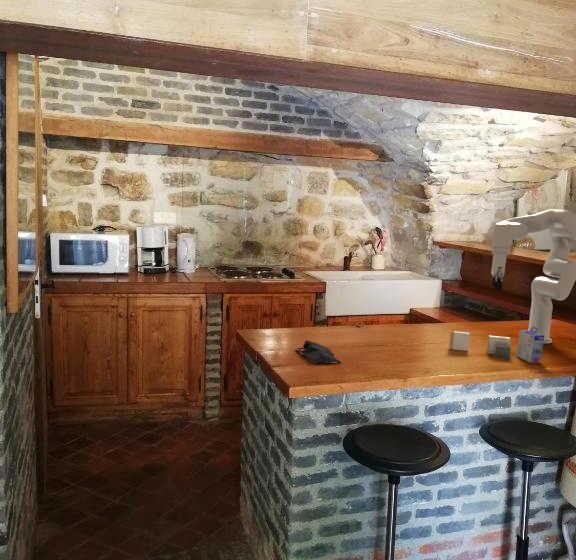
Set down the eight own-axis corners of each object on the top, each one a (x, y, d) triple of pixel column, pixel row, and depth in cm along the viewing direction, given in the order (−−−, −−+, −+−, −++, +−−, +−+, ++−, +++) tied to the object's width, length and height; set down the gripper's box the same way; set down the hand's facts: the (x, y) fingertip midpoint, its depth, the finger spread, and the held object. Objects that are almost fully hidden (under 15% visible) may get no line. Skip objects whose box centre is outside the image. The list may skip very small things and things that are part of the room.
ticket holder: (486, 349, 259) (488, 333, 257) (507, 352, 256) (509, 335, 255) (487, 356, 249) (489, 338, 248) (509, 358, 247) (511, 340, 245)
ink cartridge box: (541, 363, 243) (545, 330, 240) (530, 363, 241) (534, 330, 239) (526, 355, 252) (530, 324, 250) (515, 356, 251) (519, 324, 248)
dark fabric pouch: (307, 366, 227) (307, 355, 226) (294, 350, 248) (294, 339, 247) (343, 365, 230) (344, 353, 229) (327, 349, 251) (328, 338, 250)
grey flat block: (449, 347, 259) (450, 330, 257) (467, 349, 257) (469, 332, 255) (449, 348, 257) (450, 331, 256) (467, 350, 255) (469, 333, 254)
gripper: (490, 248, 263) (486, 284, 266) (493, 252, 247) (489, 290, 250) (507, 249, 261) (503, 285, 264) (511, 253, 245) (507, 292, 248)
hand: (496, 288), depth 257 cm, fingers open, 9 cm apart
